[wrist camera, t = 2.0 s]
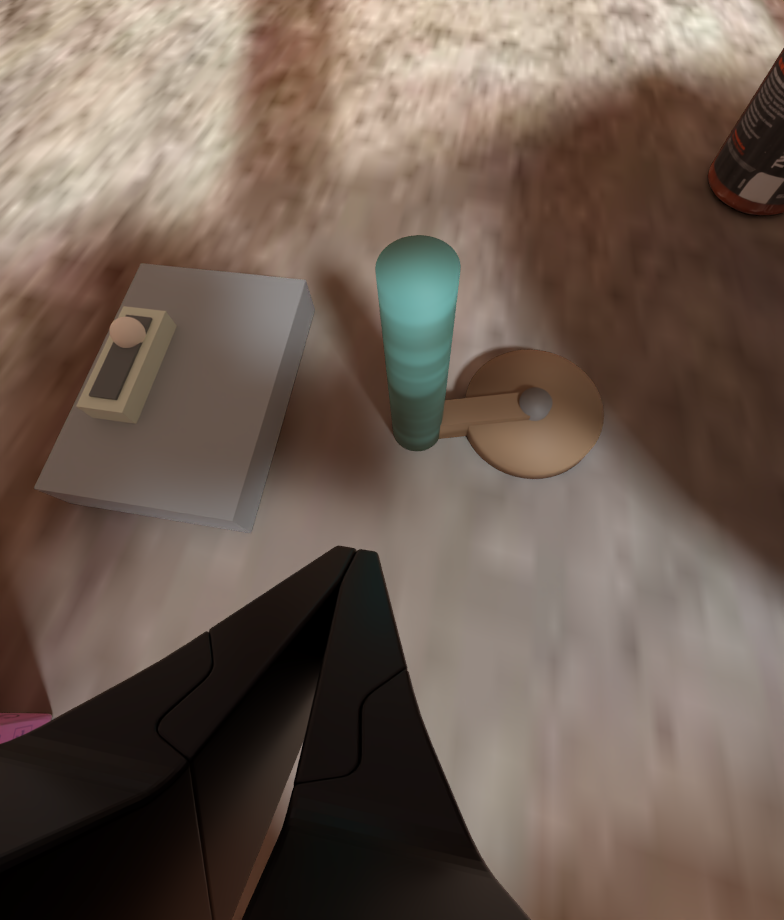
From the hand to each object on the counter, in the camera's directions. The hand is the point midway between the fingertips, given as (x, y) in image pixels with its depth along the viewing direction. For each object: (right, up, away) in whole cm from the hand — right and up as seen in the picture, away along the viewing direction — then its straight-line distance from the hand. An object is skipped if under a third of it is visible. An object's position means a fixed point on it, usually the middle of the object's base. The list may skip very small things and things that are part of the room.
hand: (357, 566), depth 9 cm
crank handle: (+6, +5, +16) cm, 17 cm away
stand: (-10, +6, +17) cm, 20 cm away
